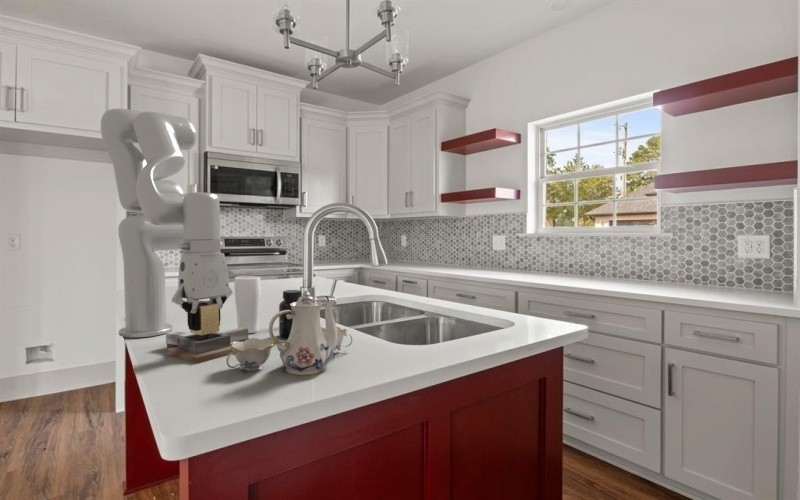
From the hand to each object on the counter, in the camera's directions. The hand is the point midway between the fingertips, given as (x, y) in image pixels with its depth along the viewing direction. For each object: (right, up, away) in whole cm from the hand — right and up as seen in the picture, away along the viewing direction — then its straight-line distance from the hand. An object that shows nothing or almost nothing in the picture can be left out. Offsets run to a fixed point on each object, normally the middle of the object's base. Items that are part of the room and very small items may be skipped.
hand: (204, 326), depth 100 cm
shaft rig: (-1, -6, +4) cm, 7 cm away
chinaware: (+23, -7, -7) cm, 25 cm away
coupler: (0, -1, 0) cm, 1 cm away
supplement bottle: (+16, -5, +16) cm, 23 cm away
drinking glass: (+3, -5, +20) cm, 21 cm away
